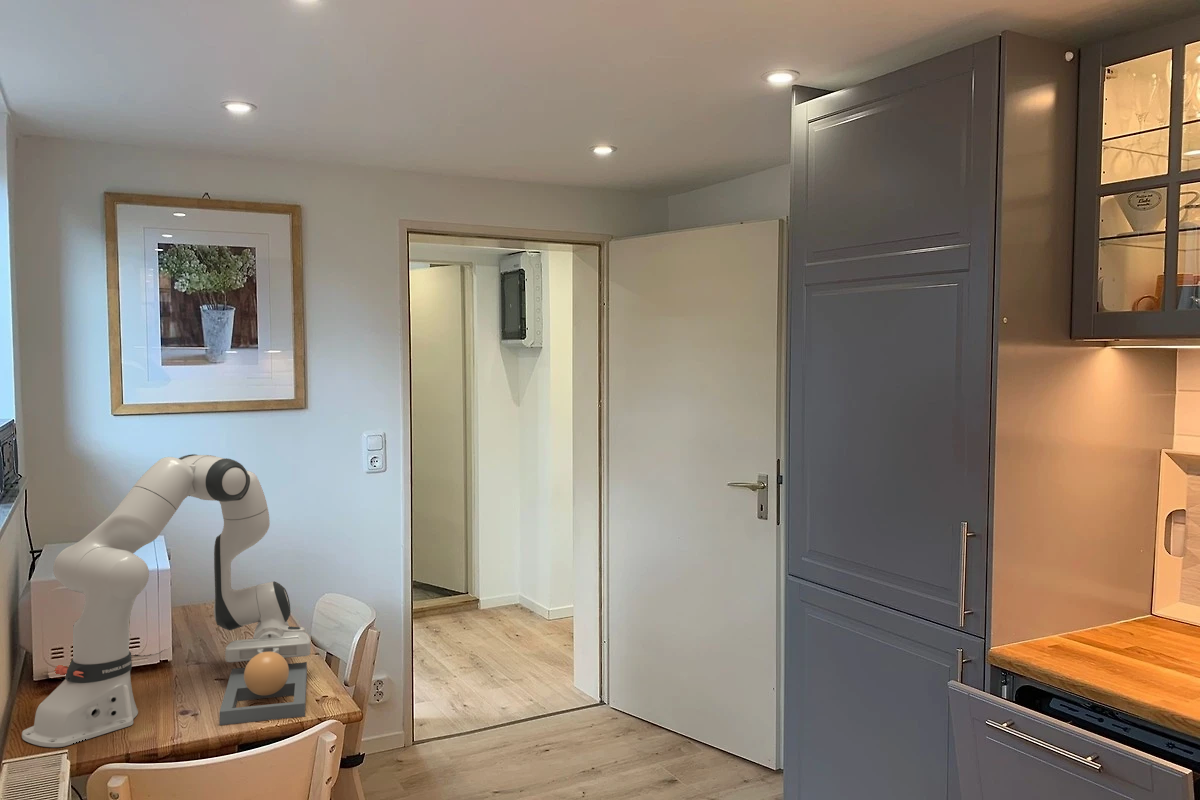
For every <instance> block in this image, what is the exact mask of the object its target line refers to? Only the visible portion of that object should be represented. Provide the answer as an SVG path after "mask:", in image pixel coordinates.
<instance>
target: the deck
mask: <svg viewBox="0 0 1200 800" xmlns="http://www.w3.org/2000/svg"><path fill="white" fill-rule="evenodd" d="M287 664H288V667H289V676H288V679H287V681H286V683H285V685H284V686H283V687H282V688H281V689H280V690H279V691H277V692H276V693H274V694H271V695H266V696H262V695H257V694H255V693H253V692H251V691H250V690H249V689H248V687H247V686H246V684H245V681H244V671H245V668H246V667H237V668H231V671H230V674H229V678H228V681H227V685H226V688H225V692H224V695H223V699H222V703H221V704H220V705H221V706H220V709H219V713H218V714H219V726H225V725H233V724H244V723H252V722H263V721H271V719H273V720H280V719H281V720H282V718H283V719H292V718H297V717H298V718H300V717H306V699H307V680H308V677H307V676H308V671H307V670H308V662H307V661H305V662H296V663H295V662H293V663H292V662H291V663H287ZM291 696H292V697H293V701H290V702H282V703H281V702H280V703H272V704H262V705H261V704H259V705H251V706H242V707H241V706H240V707H237V705H238V701H239V702H240V701H250V700H261V699H272V698H279V697H280V698H281V697H291Z"/></svg>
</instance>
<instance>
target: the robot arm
mask: <svg viewBox="0 0 1200 800" xmlns="http://www.w3.org/2000/svg"><path fill="white" fill-rule="evenodd" d="M187 497H192V498H196V499H198V500H203V501H216V502H219V504H220V508H221V514H222V519H223V528H222V531H221V533H220V534H218V535H217V536H216V538H215V541H214V549H213V559H214V560H213V568H214V604H213V617H214V620H215V623H216V625H217V626H218V627H221V628H222V629H224V630H227V631H233V630H236V629H239V628H242V627H244V626H247V625H251V624H255V623H256V626H255V629H254V632H253V637H252V638H248V639H247V638H245V639H236V640H232V641H231V642H229V643H228V644H227V645H226V647H225V652H224V654H225V655H224V657H225V658H224V659H225V662H227V663H239V662H249V661H250V660H251V659H252V658H253V657H254V656H256V655H257V654H259V653H262V652H275V653H278V654H280V655H281V656H282V657H283V658H284V659H285V658H298V657H307V656H310V655H311V651H312V650H311V638H310V636H309V634H308V633H306V629H305V627H300V626H289V621H288V620H289V618H290V616H291V603H290V598H289V594H288V592H287V590H286V588H285V587H284V586H283V585H281V584H280V583H279V582H277V581H269V582H265V583H261V584H256V585H252V586H248V587H245V588H244V587H243V588H239V589H233V588H232V571H231V570H232V569H231V564H232V562H233V560H234V559H235V558H237V556H239V555H240V554H241V553H243V552H244V551H246V550H248V549H249V548H251V547H253V546H255V545H256V544H258V543H259V542H260V541H261V540H262V539H263V538H264V537H265V535H266V534H267V533H268V530H269V528H270V525H271V524H270V523H271V521H270V513H269V507H268V503H267V498H266V496H265V493H264V489H263V488H262V485H261V482H260V480H259V478H258V476H257V475H256V474H255V473H254V472H252V471H249V470H247V469H246V468H245V467H244V465H243V464H242V463H240V462H239V461H237V460H234V459H231V458H224V457H219V456H216V455H209V454H195V453H193V454H186V455H183V456H180V457H178V458H177V457H173V456H167V457H162V458H160V459H159V460H158V461H156V462H155V463H154V464H152V465H151V466H150V468H149V469H147V470H146V471H145V472H144V473H143V474H142V475H141V476H140V478H139V479H138V480H137V481H136V482H135V484H134V485H133V486H132V487H131V488H130V490H129V492H128V493H127V494H126V495H125V497H124V498H123V499H122V500H121V502H120V503H118V505H117V506H116V508H115V509H114V510H113V511H112V513H111V514H110V515H109V516H108V517H107V518H106V519H104V521H102V522H101V523H100V524H99V525H97V526H96V527H95V528H94V529H93V530H92V531H91V532H89V533H88V534H87V535H86V536H84V537H83V538H81V540H79V541H78V542H76V543H74V544H72V545H69V546H67V547H66V548H64V549H63V550H61V551H60V553H58V554H57V556H56V558H55V559H54V561H53V562H54V563H53V568H52V569H53V570H52V571H53V575H54V578H55V579H56V580H57V582H59V583H60V584H61V585H63V586H64V587H65V588H67V589H68V590H70V591H72V592H76V593H80V594H84V605H83V609H82V612H81V614H80V617H79V618H78V619H76V621H75V622H74V625H73V659H72V660H71V662H70V665H69V667H67V666H63V665H58V666H56V667H57V668H55V670H54V671H56V672H55V673H56V674H60V675H65V674H66V676H65V679H63V681H62V682H61V683H60V684H59V685H58V686H57V687H56V688H55V689H54V690H53V691H52V692H51V693H50V694H49V695H48V696H47V697H45V699H44V700H42V702H40V704H39V705H38V707H37V708H36V712H35V714H34V715H35V716H34V724H33V725H32V726H30V727H27V728H25V729H24V730H22V732H21V738H22V740H23V741H25V742H27V743H29V744H32V745H34V746H38V747H44V748H62V747H63V748H64V747H67V746H70V745H73V743H74V744H77V743H79V741H80V742H82V740H83V741H86V740H90V739H92V738H95V737H99V736H103V735H105V734H108V733H111V732H114V731H119V730H121V729H124V728H127V727H130V726H132V725H133V724H134V719H135V718H136V717H137V715H138V714H139V709H138V708H137V705H136V702H135V698H134V693H133V688H132V687H133V686H132V682H131V681H132V680H131V671H132V668H133V665H132V664H133V662H132V651H131V650H130V651H129V644H130V616H131V611H132V609H133V608H134V604H135V601H136V599H137V596H138V595H139V594H141V593H142V591H144V589H145V588H146V585H147V583H148V581H149V577H150V573H149V572H150V569H149V567H148V563H146V561H145V560H144V559H142V557H139V556H138V555H136V554H135V553H136V552H137V551H138V550H140V549H141V548H143V547H144V546H146V545H148V544H151V543H152V542H154V541H155V540H156V539H157V538H158V537H159V535H160V534H161V533H162V532H163V530H164V528H165V527H166V525H167V524H168V523H169V522H170V520H171V519H172V517H173V516H174V515H175V514H176V512H177V510H178V509H179V508H180V506H181V504H182V503H184V502H183V501H184V500H185V499H186V498H187ZM85 739H86V740H85ZM76 742H77V743H76Z"/></svg>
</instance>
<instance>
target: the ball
mask: <svg viewBox="0 0 1200 800" xmlns="http://www.w3.org/2000/svg"><path fill="white" fill-rule="evenodd" d="M288 664H289V663H288V661H287V660H286V659H285V658H283V657H282V656H281V655H280V654H278V653H275V652H262V653H259V654H257V655H256V656H254V657H253V658H252V659H251V660H250V661H247V664H246V665H245V667H244V668H245V671H244V681H245V684H246V686H247V687H248V689H249V690H250V691H251V692H253V693H255V694H257V695H262V696H266V695H271V694H274V693H276V692H277V691H279V690H280V689H281V688H282V687H283V686H284V685H285V683H286V681H287V679H288V676H289V667H288Z"/></svg>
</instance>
